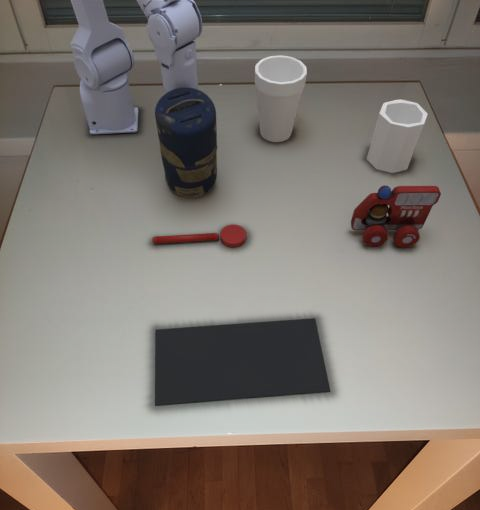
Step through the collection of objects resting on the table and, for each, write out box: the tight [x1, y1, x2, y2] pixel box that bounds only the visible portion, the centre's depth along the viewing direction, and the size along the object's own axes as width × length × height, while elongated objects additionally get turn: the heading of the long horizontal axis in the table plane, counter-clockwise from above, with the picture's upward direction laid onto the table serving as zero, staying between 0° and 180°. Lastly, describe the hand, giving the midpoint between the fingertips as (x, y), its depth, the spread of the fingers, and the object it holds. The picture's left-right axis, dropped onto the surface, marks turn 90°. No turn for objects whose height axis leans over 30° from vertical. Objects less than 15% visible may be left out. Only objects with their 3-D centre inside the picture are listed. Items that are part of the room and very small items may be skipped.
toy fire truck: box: [350, 185, 442, 249], centre depth 77 cm, size 7×12×10 cm, turn 88°
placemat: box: [154, 317, 331, 407], centre depth 68 cm, size 24×12×1 cm, turn 95°
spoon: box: [151, 224, 247, 248], centre depth 80 cm, size 16×4×1 cm, turn 95°
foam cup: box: [254, 54, 308, 143], centre depth 91 cm, size 10×9×13 cm
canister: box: [154, 87, 218, 199], centre depth 79 cm, size 10×10×18 cm
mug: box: [366, 98, 429, 174], centre depth 89 cm, size 12×9×10 cm
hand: (187, 154), depth 89 cm, fingers closed, pressing on canister
